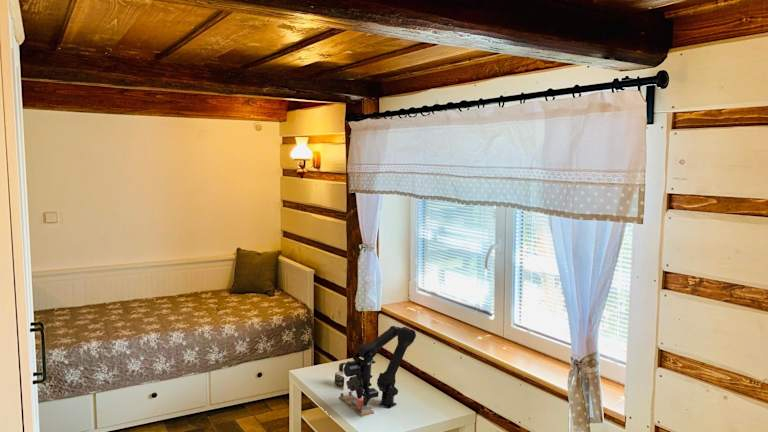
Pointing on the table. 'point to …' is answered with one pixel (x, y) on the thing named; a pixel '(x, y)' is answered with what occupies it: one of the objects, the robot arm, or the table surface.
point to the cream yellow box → (341, 377)
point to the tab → (358, 403)
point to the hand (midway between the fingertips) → (362, 403)
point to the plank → (347, 400)
